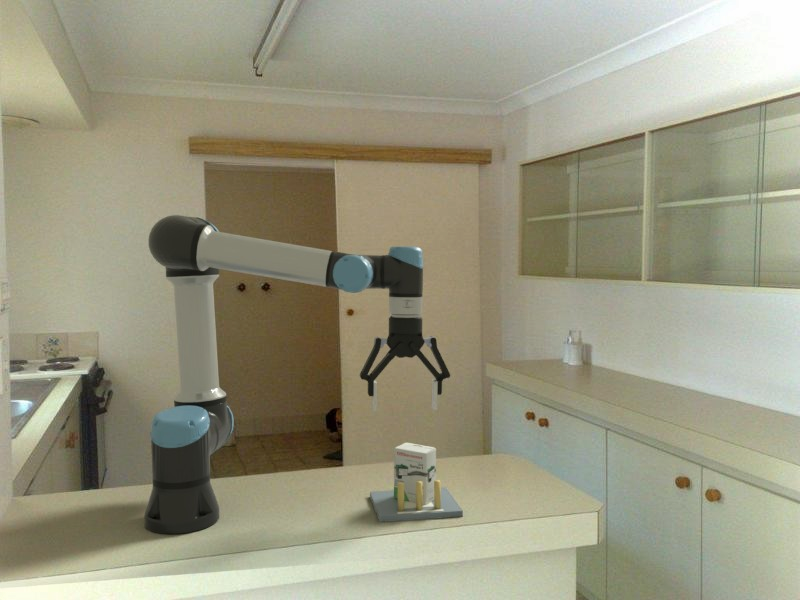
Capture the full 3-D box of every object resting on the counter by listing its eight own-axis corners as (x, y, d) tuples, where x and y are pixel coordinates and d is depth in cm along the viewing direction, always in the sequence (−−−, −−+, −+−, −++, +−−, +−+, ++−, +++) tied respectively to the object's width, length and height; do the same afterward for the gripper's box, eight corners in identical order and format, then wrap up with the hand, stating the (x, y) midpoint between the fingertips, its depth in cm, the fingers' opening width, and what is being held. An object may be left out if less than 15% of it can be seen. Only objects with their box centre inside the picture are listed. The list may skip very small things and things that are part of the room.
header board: (379, 521, 151) (379, 488, 150) (370, 496, 167) (369, 466, 166) (462, 516, 154) (462, 483, 153) (445, 492, 170) (445, 462, 169)
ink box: (392, 498, 161) (392, 446, 161) (404, 492, 166) (403, 441, 165) (426, 505, 157) (426, 452, 156) (437, 498, 161) (436, 446, 160)
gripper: (351, 317, 154) (350, 414, 156) (464, 316, 158) (462, 411, 159) (348, 314, 162) (347, 407, 163) (456, 314, 166) (455, 404, 167)
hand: (404, 409), depth 161 cm, fingers open, 13 cm apart
